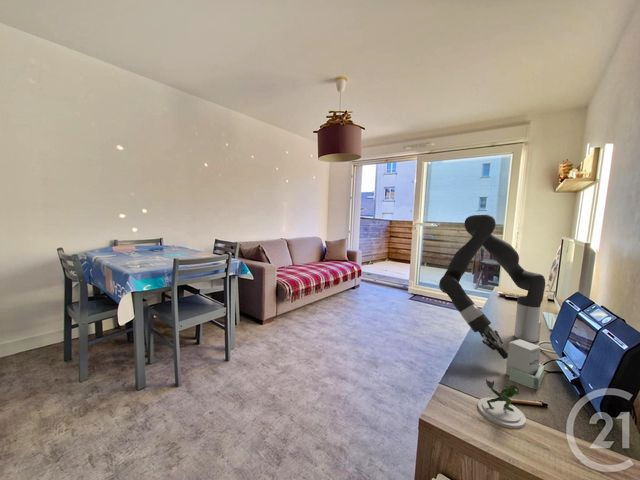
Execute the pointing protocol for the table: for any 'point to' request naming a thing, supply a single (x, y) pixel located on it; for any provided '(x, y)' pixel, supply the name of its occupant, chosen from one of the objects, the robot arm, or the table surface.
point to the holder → (528, 377)
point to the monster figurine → (502, 407)
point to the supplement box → (523, 357)
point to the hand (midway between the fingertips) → (507, 357)
